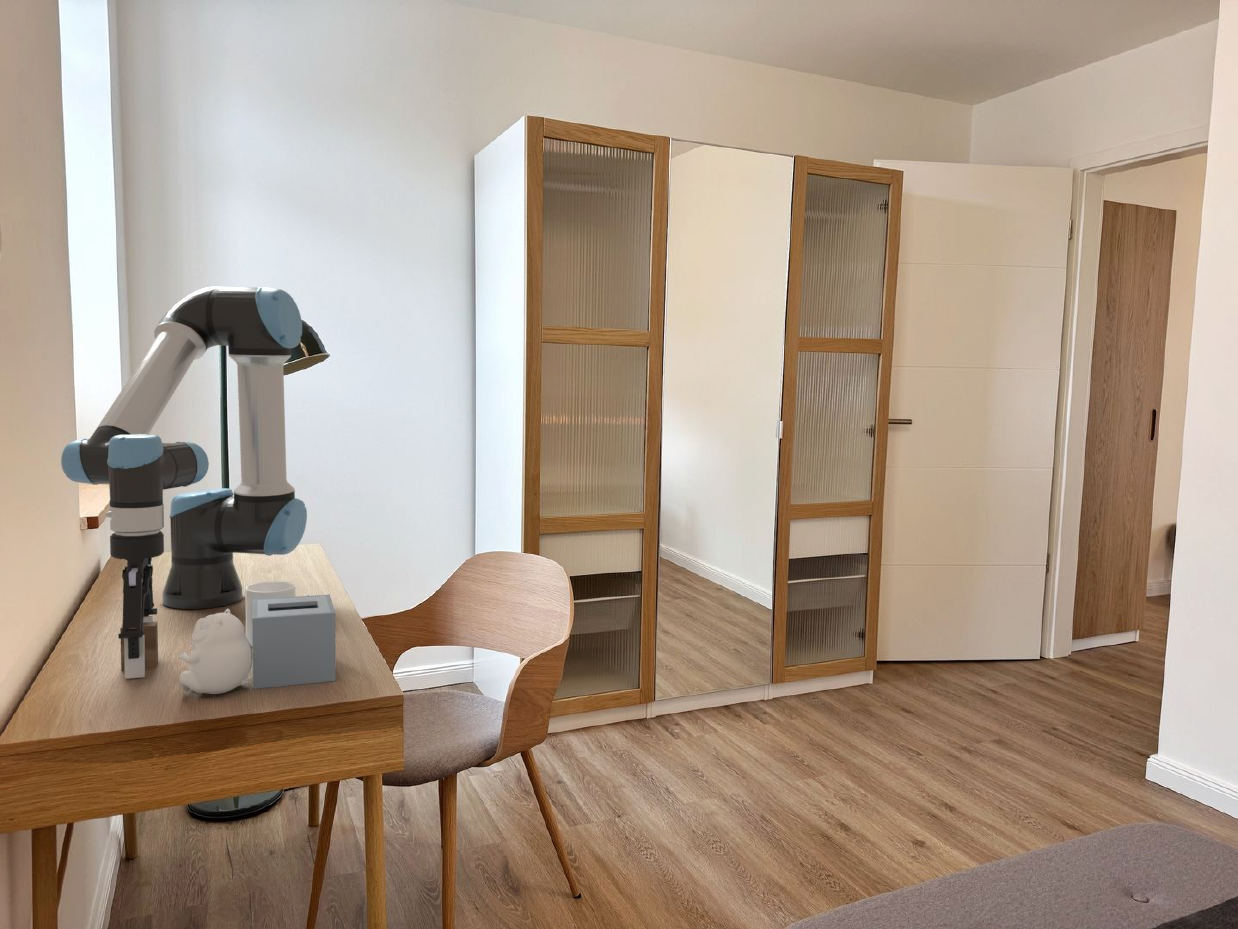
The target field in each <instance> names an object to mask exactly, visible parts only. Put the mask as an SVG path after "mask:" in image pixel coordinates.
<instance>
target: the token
mask: <svg viewBox="0 0 1238 929" xmlns="http://www.w3.org/2000/svg"><path fill="white" fill-rule="evenodd" d="M122 626H123V623H122V624H121V626H120V632H119V634H122ZM129 629H137V628H129ZM158 632H159V631H158V621H153V622H144V623H143V635H144V642H145V670H150V669H157V668H158V664H159V640H158V639H159V638H158V637H159V634H158ZM120 665H121V667H120V669H121V671H122V672H125V663H124V639H120Z"/></svg>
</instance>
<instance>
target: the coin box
mask: <svg viewBox="0 0 1238 929" xmlns="http://www.w3.org/2000/svg"><path fill="white" fill-rule="evenodd" d="M252 627H253V647H252V690H256V689H265V688H266V689H267V688H268V689H269V688H278V687H287V686H294V685H295V686H296V685H305V684H306V685H307V684H318V683H328V682H336V610H335V607H334V604H333V600H332V598H331V595H330V594H319V595H318V594H317V595H301V596H299V595H298V596H296V597H282V598H265V599H253V616H252Z"/></svg>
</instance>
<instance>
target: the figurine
mask: <svg viewBox="0 0 1238 929" xmlns="http://www.w3.org/2000/svg"><path fill="white" fill-rule="evenodd" d="M191 641H192V643H191V644H190V646H189V647H190V648H191V652H190V655H189V654H188V652H186V651H183V652H181V653H180V654H179V655H178V656H177V660H182V661H183V662H185V663H187V664H188V666H189V667H188V668H189V669H188V670H184V671H182V672H181V674H180V675H179V678H178V680H179V685H180V688H181V689H182V691H183V692H184V693H189V692H190V691H192V692H194V693H197V694H203V693H204V694H208V695H220V694H224V693H227V692H230V691H232V690H234V689H235V688H237V687H239V686H245V685H248V684H250V683H251V682H253V676H250V675H249V673H250V671H251V668H252V666H253V647H251V645H250V643H249V641H248V639H247V638H246V632H245V628H244V625H243V623H242V621H241V620H240V618H238V617H236V616H235V615H234V614H232V613H231V609H230V608H226V610H224V612H216V613H214V614H208V615H207V616H205V617H201V618H199V619H198V620H197V621H196V622H195V625H194V629H193V632H192V634H191Z"/></svg>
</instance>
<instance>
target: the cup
mask: <svg viewBox="0 0 1238 929" xmlns="http://www.w3.org/2000/svg"><path fill="white" fill-rule="evenodd" d="M282 597H297V596H296V584H295V583H293V582H290V581H280V580H278V581H275V580H272V581H270V580H269V581H262V582H261V581H260V582H256V583H250V584H249V585H247V586H245V636H246V638H247V639H248V641H249V643H250V645H251V648H253V627H252V616H253V599H265V598H282Z"/></svg>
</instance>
